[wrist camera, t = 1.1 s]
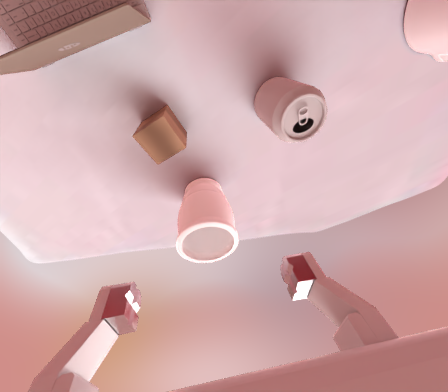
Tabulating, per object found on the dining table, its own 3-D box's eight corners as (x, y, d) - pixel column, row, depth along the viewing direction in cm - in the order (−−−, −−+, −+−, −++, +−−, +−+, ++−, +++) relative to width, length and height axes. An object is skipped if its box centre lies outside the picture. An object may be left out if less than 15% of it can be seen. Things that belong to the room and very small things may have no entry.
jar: (192, 216, 49) (193, 270, 37) (170, 184, 42) (163, 237, 30) (232, 200, 47) (247, 251, 35) (216, 165, 41) (226, 213, 29)
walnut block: (167, 104, 33) (163, 116, 28) (186, 132, 36) (186, 147, 31) (141, 122, 34) (132, 136, 29) (162, 147, 37) (157, 164, 32)
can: (258, 128, 38) (281, 155, 28) (248, 86, 33) (271, 102, 24) (296, 112, 37) (333, 135, 27) (291, 68, 32) (333, 76, 23)
